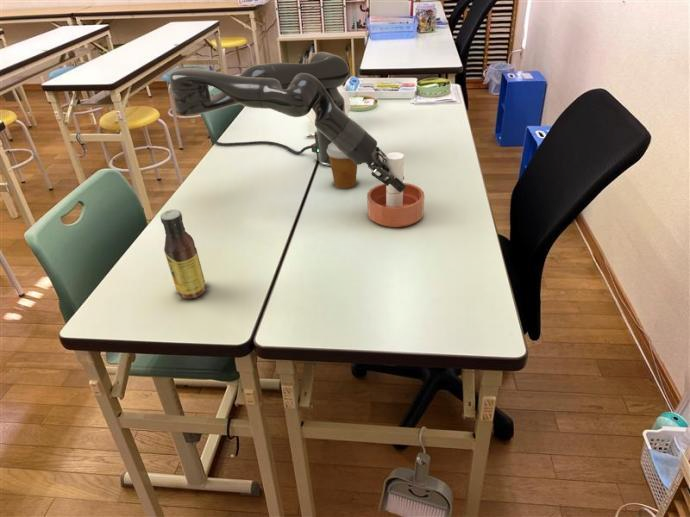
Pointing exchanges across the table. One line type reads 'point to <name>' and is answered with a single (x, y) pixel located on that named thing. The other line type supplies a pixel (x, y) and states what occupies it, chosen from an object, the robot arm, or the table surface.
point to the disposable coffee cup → (342, 168)
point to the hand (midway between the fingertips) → (402, 184)
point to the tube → (397, 168)
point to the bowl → (395, 215)
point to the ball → (347, 106)
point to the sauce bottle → (182, 256)
